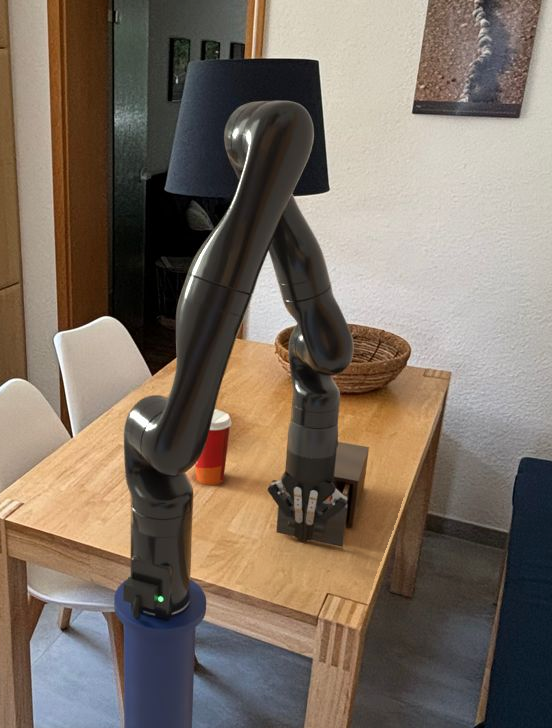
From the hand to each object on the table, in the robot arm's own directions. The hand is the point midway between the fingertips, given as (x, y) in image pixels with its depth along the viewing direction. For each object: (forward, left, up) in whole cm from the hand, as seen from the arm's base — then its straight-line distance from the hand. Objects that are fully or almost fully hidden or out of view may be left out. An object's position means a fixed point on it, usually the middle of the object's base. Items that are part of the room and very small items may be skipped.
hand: (303, 540), depth 126 cm
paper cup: (+23, +23, -6) cm, 33 cm away
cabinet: (+23, 0, -5) cm, 24 cm away
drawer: (+12, 0, -4) cm, 13 cm away
